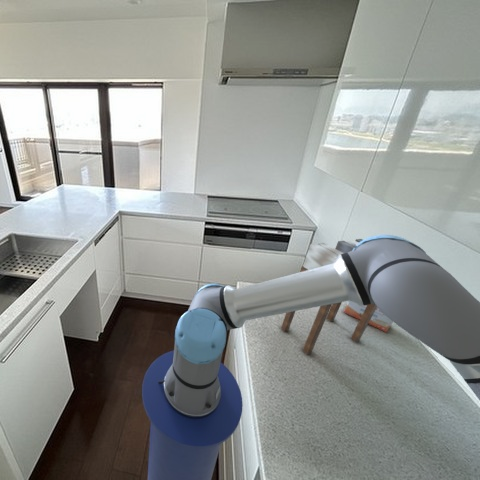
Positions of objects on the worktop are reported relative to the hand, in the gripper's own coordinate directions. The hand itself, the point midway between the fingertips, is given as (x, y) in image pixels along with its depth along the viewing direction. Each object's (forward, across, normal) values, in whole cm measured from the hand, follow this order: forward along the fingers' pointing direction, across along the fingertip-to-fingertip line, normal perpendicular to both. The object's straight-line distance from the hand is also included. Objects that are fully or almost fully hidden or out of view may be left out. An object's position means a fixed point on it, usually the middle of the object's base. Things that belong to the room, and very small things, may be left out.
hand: (395, 265), depth 71 cm
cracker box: (-8, +20, -34) cm, 40 cm away
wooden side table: (-9, -5, -32) cm, 34 cm away
